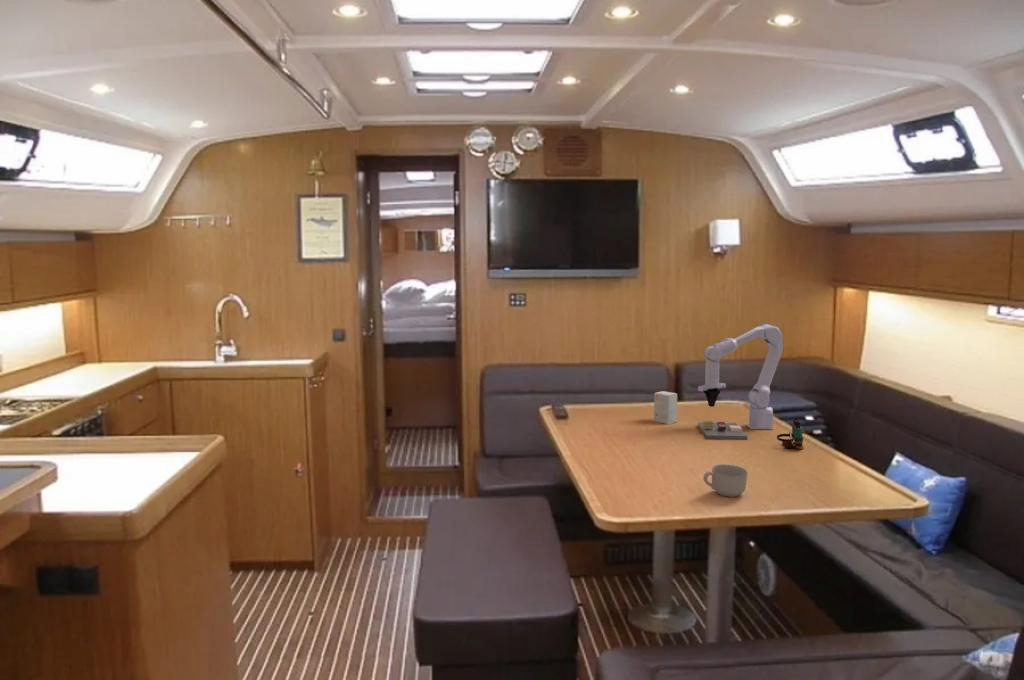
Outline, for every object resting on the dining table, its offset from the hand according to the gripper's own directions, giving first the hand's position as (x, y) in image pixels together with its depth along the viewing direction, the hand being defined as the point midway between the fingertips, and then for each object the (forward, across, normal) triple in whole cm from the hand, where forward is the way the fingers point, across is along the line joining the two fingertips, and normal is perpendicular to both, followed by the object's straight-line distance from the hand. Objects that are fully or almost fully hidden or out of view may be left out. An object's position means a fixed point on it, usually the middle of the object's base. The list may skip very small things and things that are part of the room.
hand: (711, 406), depth 317 cm
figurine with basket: (+10, +3, -38) cm, 39 cm away
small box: (+10, -9, +19) cm, 23 cm away
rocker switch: (+6, -4, -10) cm, 12 cm away
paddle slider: (+7, -8, -6) cm, 12 cm away
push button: (+8, +1, -13) cm, 15 cm away
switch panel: (+9, -2, -8) cm, 13 cm away
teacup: (+10, -60, -64) cm, 88 cm away
